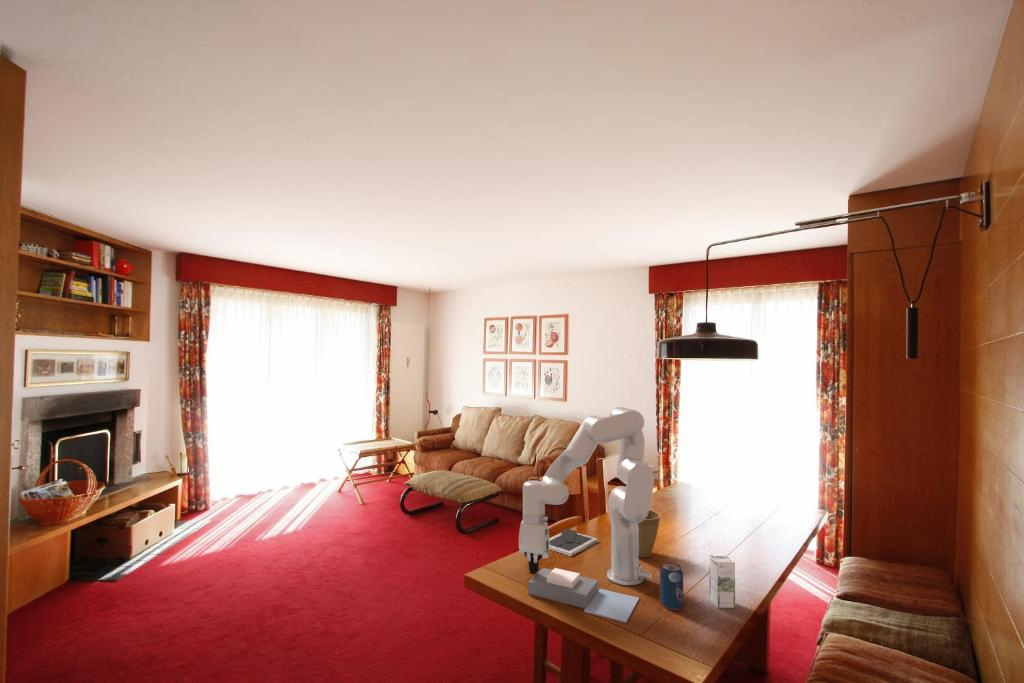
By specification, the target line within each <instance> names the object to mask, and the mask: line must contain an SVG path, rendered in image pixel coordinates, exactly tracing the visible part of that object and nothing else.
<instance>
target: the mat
mask: <svg viewBox="0 0 1024 683" xmlns="http://www.w3.org/2000/svg"><path fill="white" fill-rule="evenodd" d="M639 600H640V597H637V596H633V595H628V594H624V593H620V592H615V591H611V590H607V589H602V588H599V589H598V592H597V594H596V595H595V596H594V598H593V599H592V600H591V602H590V603H589V604H588V606H587V607H586V608H585V609H584V610H583V612H584V613H587V614H590V615H594V616H597V617H602V618H606V619H610V620H614V621H617V622H622V623H625V624H626V623H628V620H629V619H630V617H631V615H632V614H633V612H634V609H635V607H636V606H637V604H638V602H639Z"/></svg>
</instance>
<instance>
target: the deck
mask: <svg viewBox="0 0 1024 683" xmlns="http://www.w3.org/2000/svg"><path fill="white" fill-rule="evenodd" d="M552 570H553V569H549V568H546V567H545V568H544V567H543V568H542V569H540V570H538V572H537V573H536V574H535V575H534V576H533V577H532V578H530V580H528V581H527V583H528V584H527V586H528V589H527V590H528V592H527V593H528V595H530V596H535V597H538V598H542V599H545V600H546V599H547V600H549V601H554V602H558V603H562V604H565V605H570V606H573V607H577V608H582V609H584V610H585V608H586V607H587V606H588V604H589V603H590V602H591V600H592V599H593V598H594V596H595V595H596V594H597V592H598V591H599V579H594V578H589V577H585V576H581V575H580V580H579V581H578V582H577V584H576V585H575V586H574V587H573V588H569V587H564V586H560V585H556V584H552V583H548V582H547V575H548V574H549V573H550V572H551V571H552Z"/></svg>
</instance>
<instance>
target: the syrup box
mask: <svg viewBox="0 0 1024 683" xmlns="http://www.w3.org/2000/svg"><path fill="white" fill-rule="evenodd" d="M708 556H709V557H708V558H709V559H708V560H709V562H708V564H709V565H708V567H709V568H708V569H709V576H708V578H709V601H710V602H711V603H712V604H713V605H714V606H715V607H716V609H736V563H735V561H734V559H732V558H731V557H729V555H727V554H723V555H722V554H710V555H708Z"/></svg>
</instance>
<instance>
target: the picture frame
mask: <svg viewBox="0 0 1024 683" xmlns="http://www.w3.org/2000/svg"><path fill="white" fill-rule="evenodd" d="M549 539H550V550H549V551H551V550H553V551H552V552H554V551H556V552H555V553H557V552H559V553H558V554H560V553H562V554H561V555H564V554H565V555H564V556H567V555H568V556H567V557H570V556H571V557H572V555H573V556H575V555H577V554H579V553H580V552H582V551H583V550H586V549H587V547H588V548H590V547H591V546H593V545H596V544H597V543H598V542H599V538H596V537H593V536H590V535H587V534H582V533H579V532H577V531H576V530H573V529H569V528H565V529H563V530H561V531H560V533H558V534H556V535H554V536H552V537H549ZM578 552H579V553H578ZM576 553H577V554H576ZM574 554H575V555H574Z"/></svg>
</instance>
